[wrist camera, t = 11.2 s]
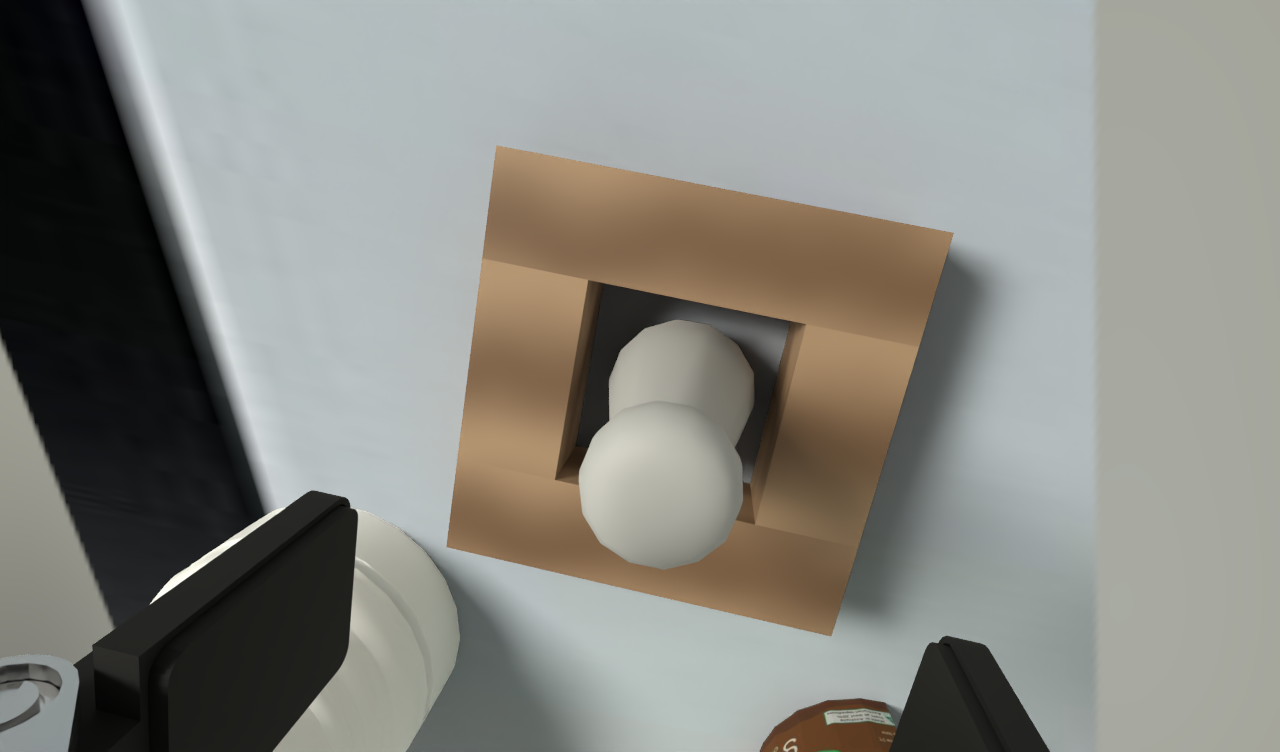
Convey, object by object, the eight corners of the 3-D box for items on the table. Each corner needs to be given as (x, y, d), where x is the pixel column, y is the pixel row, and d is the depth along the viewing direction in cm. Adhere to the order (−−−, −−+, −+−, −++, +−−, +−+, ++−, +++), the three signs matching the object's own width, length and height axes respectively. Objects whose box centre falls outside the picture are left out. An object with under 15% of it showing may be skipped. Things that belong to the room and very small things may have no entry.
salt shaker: (764, 323, 28) (802, 415, 15) (738, 450, 29) (754, 629, 17) (627, 301, 28) (554, 372, 16) (608, 427, 30) (529, 585, 17)
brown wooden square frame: (527, 154, 27) (496, 145, 23) (918, 230, 26) (953, 232, 22) (479, 505, 31) (446, 546, 27) (816, 582, 30) (831, 636, 26)
